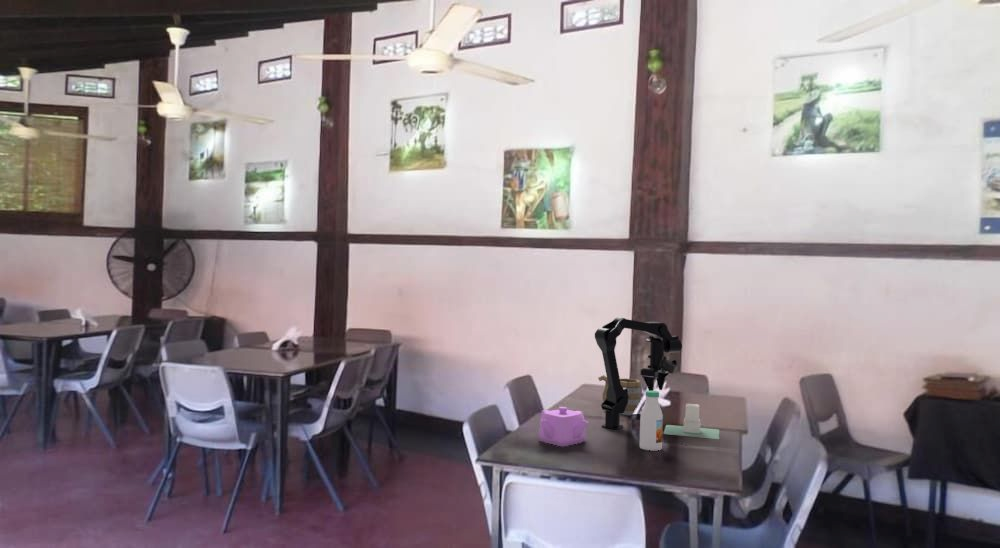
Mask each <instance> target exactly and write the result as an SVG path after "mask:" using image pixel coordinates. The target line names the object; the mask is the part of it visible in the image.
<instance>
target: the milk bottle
mask: <svg viewBox="0 0 1000 548" xmlns="http://www.w3.org/2000/svg"><path fill="white" fill-rule="evenodd" d="M659 396H660V392H659V391H657V390H653V391H651V390H650V391H649V390H646V391H645V402H644V405H643V407H642V408H641V409H642V411H641V414H640V417H639V419H640V421H639V422H640V423H639V448H640V449H641V450H644V451H649V450H650V451H651V452H656V451H658V450H659V451H661V450H662V449H663V432H664V431H663V429H664V427H663V426H664V420H663V419H664V416H663V411H662V409H661V408H662V407H661V406H660V403H659V399H660V397H659Z"/></svg>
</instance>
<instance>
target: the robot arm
mask: <svg viewBox="0 0 1000 548" xmlns="http://www.w3.org/2000/svg"><path fill="white" fill-rule="evenodd" d="M624 329H627V330H628V329H629V330H635V331H639V332H643V333H645V334H648V335H650V336H649V337H648V338H646V339H645V342H646V343H649V348H650V349H649V354H648V356H647V358H648V359H649V364H648V365H647V367H643V368H641V369H640V370H639V371H640V372H639V373H640V375H639V376H641V377H642V379H643V380H644V382H645V384H646V387H647V390H648V391H650V390H651V391H655V390H654V389H655V382H657V383H656V384H657V386H658V389H659V390H660V391H662V390H663V389H664V385H665V382H666V380H667V377H669V375H672V374H673V375H674V374H677V371H678V369H679V368H680V365H679V360H676V359H673V360H668V358H667V357H668V356H667V355H665V353H667V354H669V353H670V354H671V353H680V352H681V350H682V349H683V344H682V341H681V339H680V337H679V335H671V334H672V333H670V331H669V329H668V326H667V323H666V322H659V321H644V322H643V321H640V320H633V319H628V318H627V319H626V317H625V318H624V317H615V318H614V319H612V320H610V321H609V322H608V323H606V324H604V325H602V327H599V328H597V330H596V331H595V332H594V339H595V342H596V344H597V347H598V348H599V349H600V350H601V353H602V359H603V365H604V369H605V376H606V377H607V380H608V390H607V398H606V400H605V401H603V402H602V403H601V404H600V407H601V410H603V411H605V421H604V423H605V424H602V425H601V428H606V429H612V430H619V429H621V428H623V427H624V425H623V424H621V414H620V413H624V411H625V408H626V406H627V404H628V398H629V396H628V390H627V388H624V387H622V386H621V383H620V379H621V377H620V372H619V368H618V367H619V366H618V363H617V358H616V353H615V350H616V346H617V338H618V337H619V336H620V335H621V334H622V332H623V330H624Z"/></svg>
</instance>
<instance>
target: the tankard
mask: <svg viewBox="0 0 1000 548" xmlns="http://www.w3.org/2000/svg"><path fill="white" fill-rule="evenodd" d="M598 381H599V382H602V381H604V383H605V384H604V388H603V392H602V401H603V402H604V401H605V400H606V398H607V390H608V380H607V375H601V376H599V377H598ZM620 383H621V386H622V387H624V388H627V390H628V396H629V398H628V404H627V406H626V408H625V411H624V413H620V415H621V414H623V416H632V415H631V414H632V413H633V412H634V410H635V408H636V407H637V405H638V403H639V402H640V400H641V398H642V397H641V393H643V387H642V382H641V380H638V379H636V378H625V377H624V378H620Z"/></svg>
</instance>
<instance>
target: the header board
mask: <svg viewBox="0 0 1000 548" xmlns="http://www.w3.org/2000/svg"><path fill="white" fill-rule="evenodd" d="M683 426H684V425H673V424H666V425H665V427H664V431H663V434H664V435H672V436H682V437H683V436H684V437H693V438H702V439H704V438H705V439H713V440H720V429H716V428H705V427H700V433H689V432H683ZM663 434H662V435H663Z"/></svg>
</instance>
